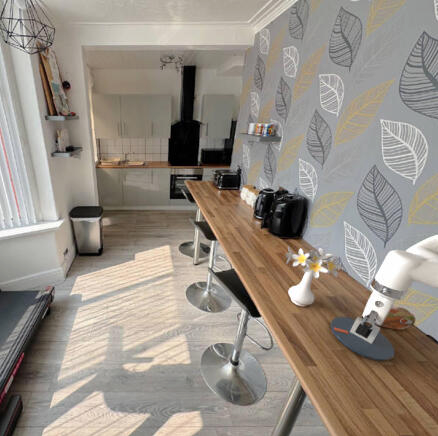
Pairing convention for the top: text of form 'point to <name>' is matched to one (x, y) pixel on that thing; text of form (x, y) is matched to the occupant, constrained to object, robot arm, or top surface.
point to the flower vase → (310, 273)
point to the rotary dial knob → (362, 339)
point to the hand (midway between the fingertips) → (364, 327)
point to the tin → (398, 319)
